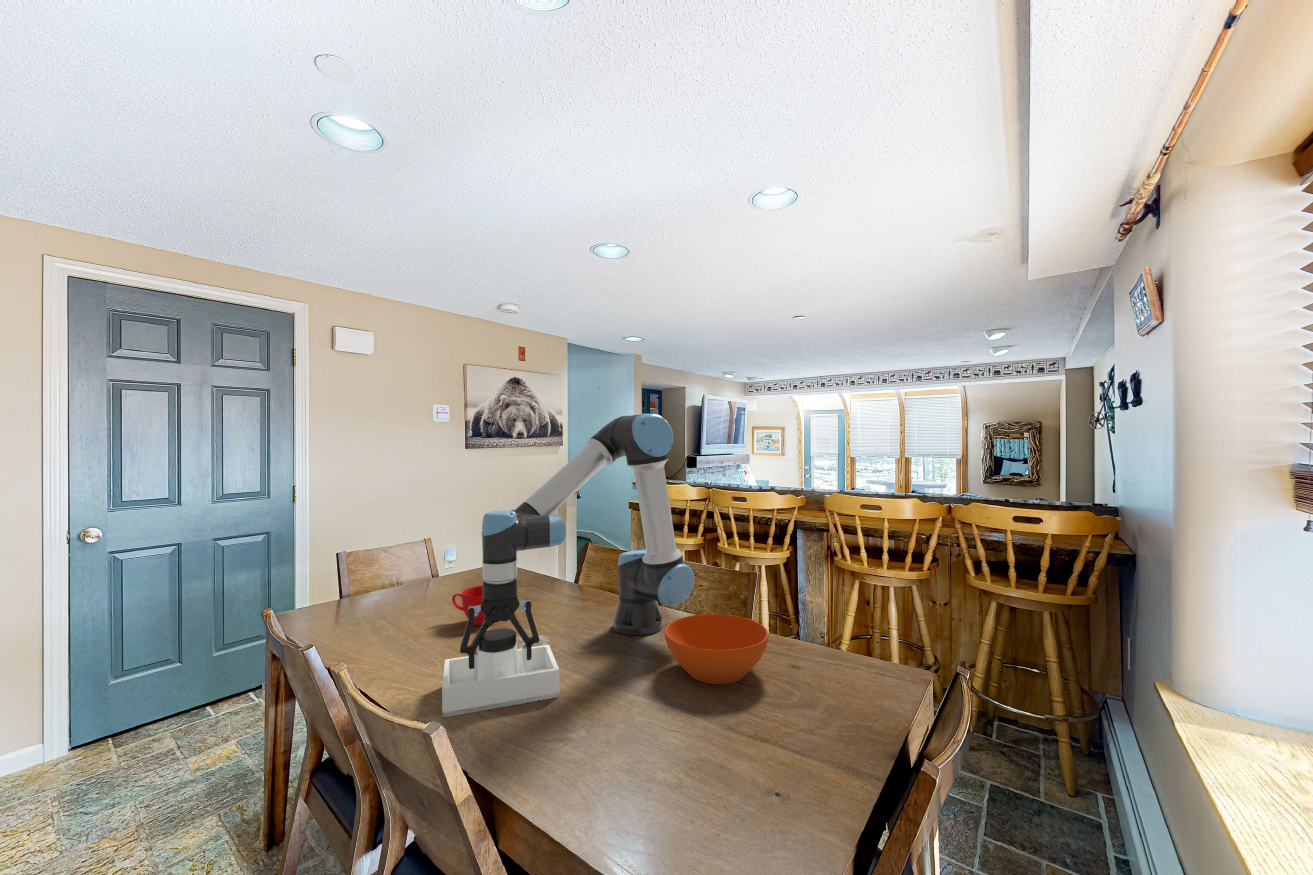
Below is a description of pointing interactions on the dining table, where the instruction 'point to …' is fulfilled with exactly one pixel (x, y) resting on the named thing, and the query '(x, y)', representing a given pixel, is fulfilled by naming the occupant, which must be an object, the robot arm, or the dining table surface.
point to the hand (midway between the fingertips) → (500, 678)
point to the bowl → (716, 646)
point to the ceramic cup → (471, 602)
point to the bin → (499, 684)
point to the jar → (497, 654)
